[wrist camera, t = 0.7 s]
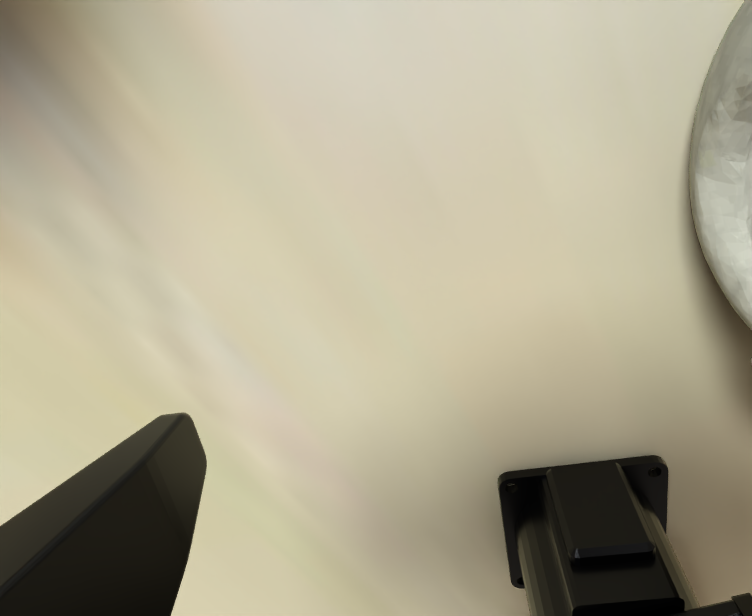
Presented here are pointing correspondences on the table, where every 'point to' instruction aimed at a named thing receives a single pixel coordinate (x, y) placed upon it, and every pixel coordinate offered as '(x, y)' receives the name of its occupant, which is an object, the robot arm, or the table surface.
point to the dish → (726, 165)
